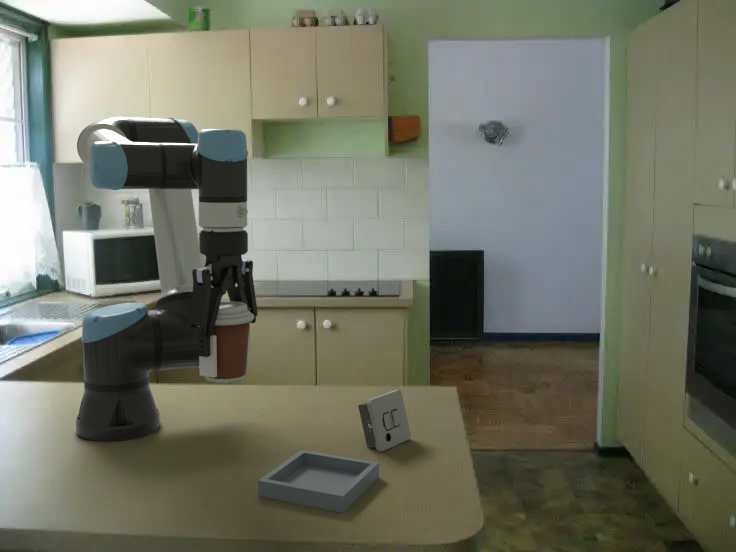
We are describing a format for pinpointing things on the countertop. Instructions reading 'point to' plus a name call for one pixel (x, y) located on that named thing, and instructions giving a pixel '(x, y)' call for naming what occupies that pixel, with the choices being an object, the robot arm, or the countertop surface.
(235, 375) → the coffee cup
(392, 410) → the electrical switch
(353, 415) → the countertop surface
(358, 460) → the dock tray
